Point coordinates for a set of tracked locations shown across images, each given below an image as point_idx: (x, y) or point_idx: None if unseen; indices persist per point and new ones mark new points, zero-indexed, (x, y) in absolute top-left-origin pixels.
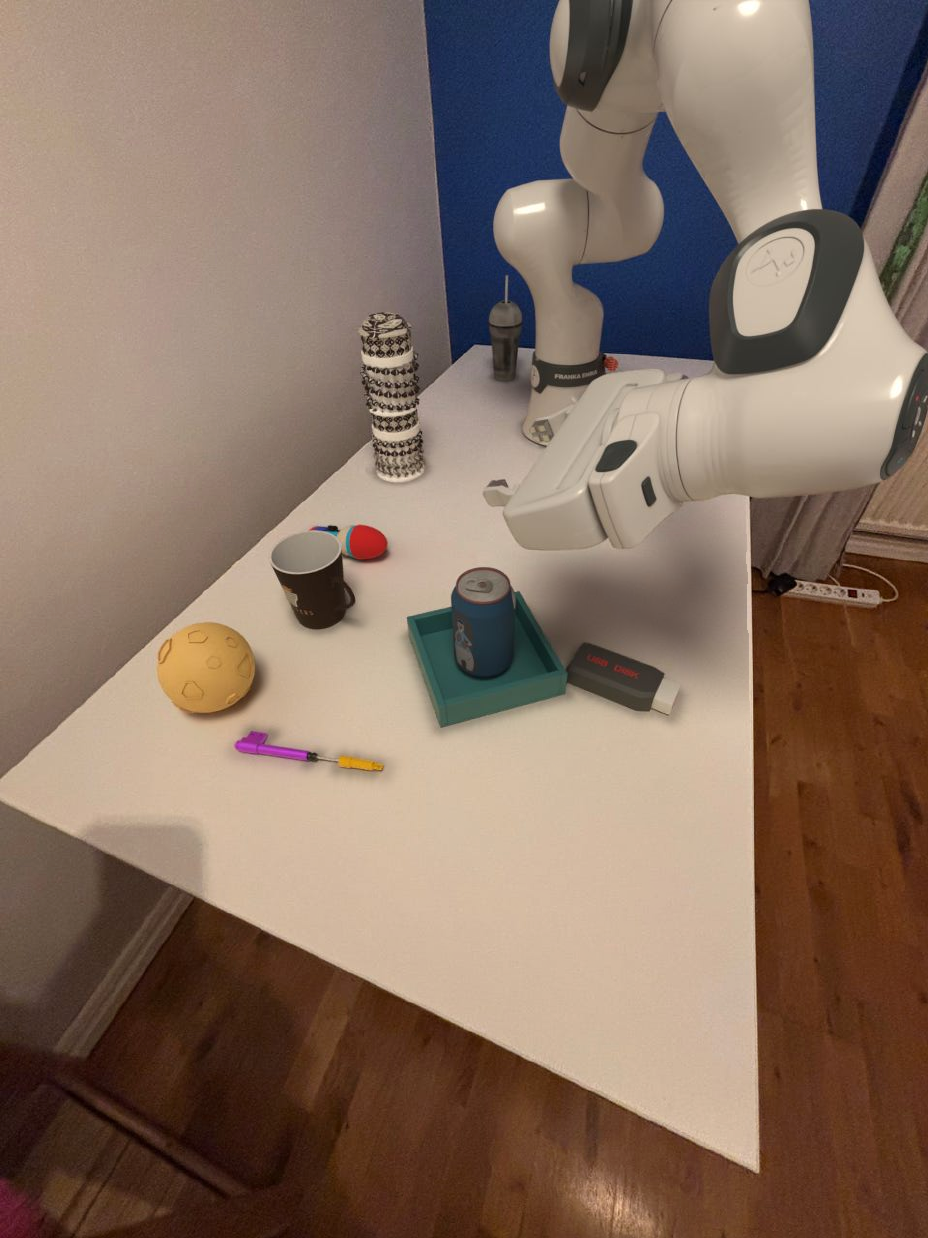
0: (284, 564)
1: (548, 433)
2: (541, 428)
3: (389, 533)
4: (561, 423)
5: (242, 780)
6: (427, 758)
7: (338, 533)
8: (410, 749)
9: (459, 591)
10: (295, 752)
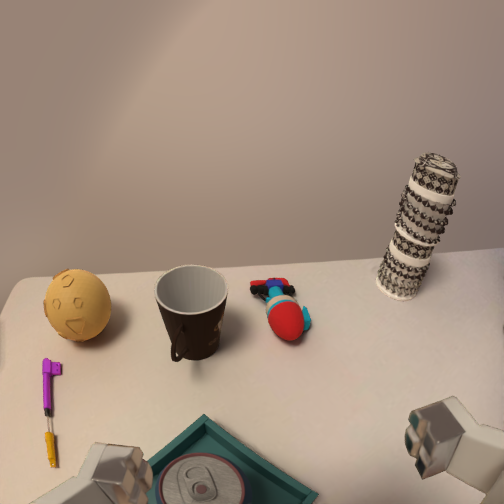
0: (189, 285)
1: (432, 465)
2: (428, 442)
3: (325, 328)
4: (481, 466)
5: (28, 377)
6: None
7: (276, 296)
8: None
9: (174, 465)
10: (44, 399)
